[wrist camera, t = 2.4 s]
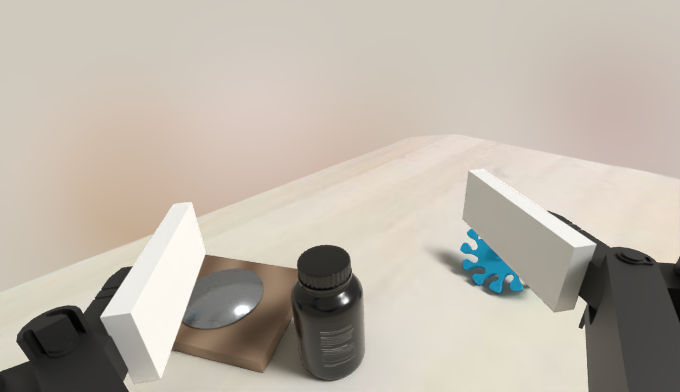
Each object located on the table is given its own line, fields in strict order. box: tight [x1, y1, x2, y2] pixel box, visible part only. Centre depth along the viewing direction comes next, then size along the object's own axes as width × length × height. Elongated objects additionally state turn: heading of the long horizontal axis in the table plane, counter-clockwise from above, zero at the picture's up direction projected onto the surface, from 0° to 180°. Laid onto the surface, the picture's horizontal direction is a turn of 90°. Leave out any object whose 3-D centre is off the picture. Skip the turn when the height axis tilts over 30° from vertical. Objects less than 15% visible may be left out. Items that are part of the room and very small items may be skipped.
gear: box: [460, 229, 523, 293], centre depth 43 cm, size 11×6×10 cm
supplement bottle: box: [291, 245, 365, 380], centre depth 32 cm, size 7×7×12 cm
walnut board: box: [172, 255, 298, 373], centre depth 41 cm, size 18×14×2 cm
